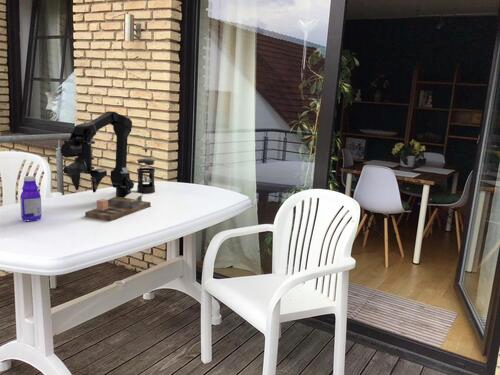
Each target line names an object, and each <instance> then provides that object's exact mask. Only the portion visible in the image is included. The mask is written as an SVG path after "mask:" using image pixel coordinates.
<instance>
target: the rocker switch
mask: <svg viewBox="0 0 500 375" xmlns="http://www.w3.org/2000/svg"><path fill="white" fill-rule="evenodd" d="M139 196H142V197H144V194H142V193H138V192H133V191H131V193H130V194H128V195H127V196H126V197H124V198H129V199H136V200H138V197H139Z"/></svg>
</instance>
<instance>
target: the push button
mask: <svg viewBox="0 0 500 375" xmlns="http://www.w3.org/2000/svg"><path fill="white" fill-rule="evenodd" d="M110 199H111V200H117V201H124V202H130V203H132V202H135V201H137V200H136V199H129V198H123V197H116V196H114V197H111V198H110Z"/></svg>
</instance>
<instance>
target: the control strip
mask: <svg viewBox="0 0 500 375" xmlns="http://www.w3.org/2000/svg"><path fill="white" fill-rule="evenodd" d="M127 195H128V194H127ZM127 195H125V197H126V196H127ZM142 198H143V196H139V197H138V200H137V201H135V202H132V203H130V202H124V201H117V200H111V198H108V199H107V200H108V209H106V210H97V207H96V208H93V209H91V210H90V209H89V210H87V211H84V215H85V217H86V218H89V219H96V220H103V221H109V222H112V221H115V220H117V219H120V218H123V217H125V216H128V215H130V214H134V213H137V212H140V211H141V210H145V209H147V208H150V207H151V206H152V205H151V202H150V201H145V200H142Z"/></svg>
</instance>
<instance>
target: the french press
mask: <svg viewBox="0 0 500 375" xmlns="http://www.w3.org/2000/svg"><path fill="white" fill-rule="evenodd" d="M142 150H144V152H145V153H147V152H148V150H151V149H150V148H148V147H147V148H146V147H144V148H142ZM136 161H137V164H138V165H139V164H145V165H146V166H153V165H155V161H156V160H155V159H152V158H140V159H137V160H136ZM155 170H156V169H155V168H154V167H153V168H152V167H140V168H139V167H138V168H137V169H136V172H137V185H136V187H137V190H136V193H141V194H143V195H145V194H147V195H148V194H153V193H156V186H155ZM144 174H148V177H144Z"/></svg>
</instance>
